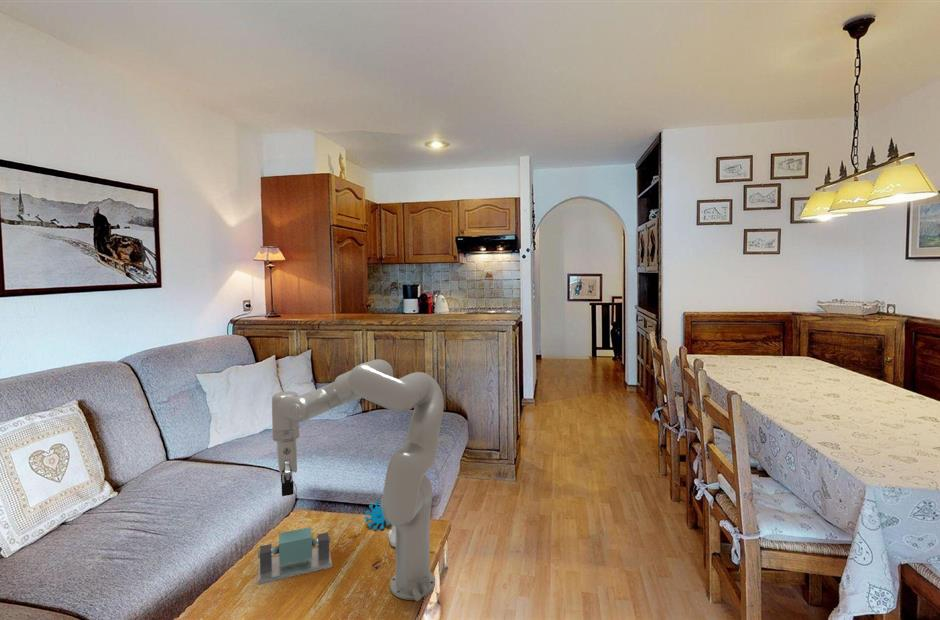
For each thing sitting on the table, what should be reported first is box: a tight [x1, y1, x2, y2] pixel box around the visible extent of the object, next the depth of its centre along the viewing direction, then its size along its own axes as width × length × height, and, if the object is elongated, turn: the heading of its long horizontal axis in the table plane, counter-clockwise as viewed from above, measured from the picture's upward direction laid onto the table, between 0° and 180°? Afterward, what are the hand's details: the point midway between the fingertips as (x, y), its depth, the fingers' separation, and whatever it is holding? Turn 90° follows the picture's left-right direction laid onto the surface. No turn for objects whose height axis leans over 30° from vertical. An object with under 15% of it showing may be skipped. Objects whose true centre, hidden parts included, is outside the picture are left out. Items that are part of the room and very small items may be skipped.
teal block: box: [278, 526, 313, 565], centre depth 133 cm, size 6×9×6 cm, turn 114°
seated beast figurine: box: [387, 525, 396, 548], centre depth 146 cm, size 10×9×12 cm
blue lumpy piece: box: [364, 500, 391, 531], centre depth 158 cm, size 11×6×10 cm
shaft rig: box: [257, 531, 333, 585], centre depth 133 cm, size 10×20×7 cm, turn 114°
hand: (287, 488), depth 136 cm, fingers open, 9 cm apart
